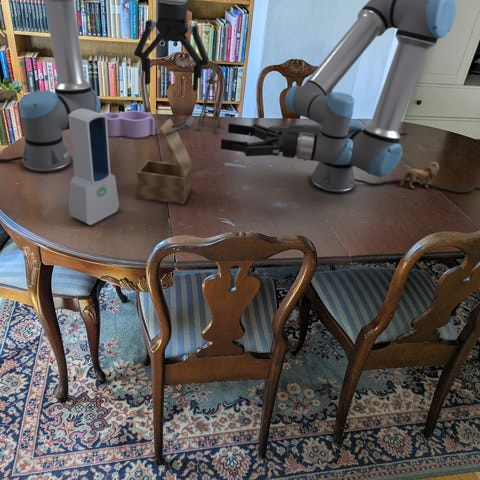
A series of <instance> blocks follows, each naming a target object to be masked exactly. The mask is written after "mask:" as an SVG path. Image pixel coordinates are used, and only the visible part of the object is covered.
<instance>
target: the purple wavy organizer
mask: <svg viewBox="0 0 480 480" xmlns="http://www.w3.org/2000/svg"><path fill="white" fill-rule="evenodd" d="M102 114H103V115H106V116H107V127H108V137H127V138H133V139H140V138H145V137H148V136H155V135H156V133H155V132H156V131H155V130H156V129H155V128H156V126H155V123H156V122H155V120H156V119H155V117H153V113H152V112H151V111H148V112H146V111H141V110H125V111H121V112H104V113H102Z"/></svg>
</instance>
